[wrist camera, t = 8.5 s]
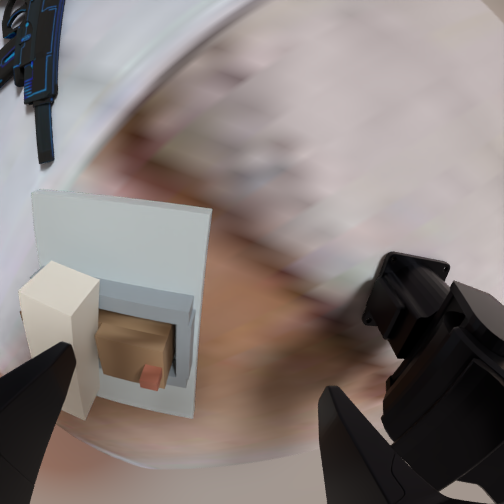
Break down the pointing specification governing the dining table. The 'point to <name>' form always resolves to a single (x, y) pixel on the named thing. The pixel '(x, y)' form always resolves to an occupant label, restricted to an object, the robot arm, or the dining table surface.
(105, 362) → the brown box with tab
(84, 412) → the long cream prism
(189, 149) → the dining table surface
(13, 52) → the gun
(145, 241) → the jig board
